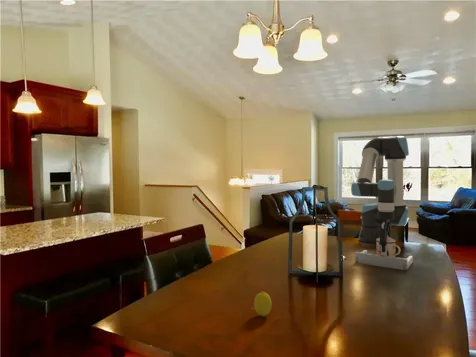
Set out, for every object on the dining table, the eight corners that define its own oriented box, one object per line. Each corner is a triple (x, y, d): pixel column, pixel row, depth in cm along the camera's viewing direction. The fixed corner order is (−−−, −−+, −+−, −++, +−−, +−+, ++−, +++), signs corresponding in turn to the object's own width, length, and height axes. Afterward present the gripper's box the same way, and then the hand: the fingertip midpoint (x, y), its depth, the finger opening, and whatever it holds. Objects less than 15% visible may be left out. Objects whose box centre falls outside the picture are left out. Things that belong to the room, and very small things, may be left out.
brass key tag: (338, 257, 178) (338, 255, 178) (346, 257, 177) (346, 255, 177) (338, 260, 171) (338, 258, 171) (347, 261, 170) (347, 259, 170)
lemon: (260, 311, 112) (260, 287, 112) (275, 315, 109) (274, 291, 109) (250, 317, 108) (250, 292, 108) (265, 322, 105) (264, 296, 104)
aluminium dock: (364, 255, 181) (364, 246, 180) (412, 262, 167) (412, 252, 167) (355, 262, 168) (355, 252, 167) (406, 270, 154) (406, 259, 154)
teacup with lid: (372, 257, 172) (372, 234, 171) (382, 254, 177) (382, 232, 177) (394, 262, 162) (395, 238, 162) (405, 259, 167) (405, 235, 167)
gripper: (382, 208, 180) (382, 251, 181) (372, 212, 164) (372, 259, 165) (398, 209, 176) (398, 253, 177) (389, 213, 159) (389, 262, 160)
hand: (385, 256), depth 171 cm, fingers closed on teacup with lid, 7 cm apart
